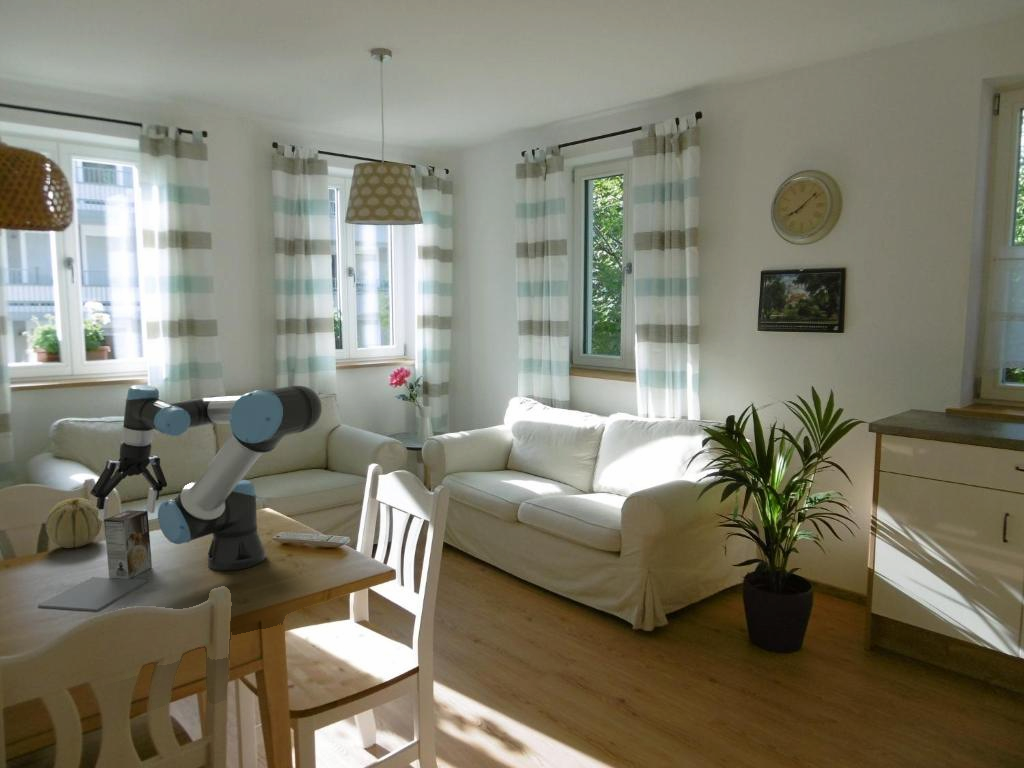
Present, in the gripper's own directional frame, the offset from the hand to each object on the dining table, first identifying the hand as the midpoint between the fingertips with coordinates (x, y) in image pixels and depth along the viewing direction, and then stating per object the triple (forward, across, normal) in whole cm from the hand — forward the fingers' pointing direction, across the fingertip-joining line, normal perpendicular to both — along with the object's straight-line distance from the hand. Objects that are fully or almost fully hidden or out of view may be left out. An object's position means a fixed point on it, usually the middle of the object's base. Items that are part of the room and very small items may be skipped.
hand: (126, 515), depth 201 cm
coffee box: (+13, +2, +9) cm, 16 cm away
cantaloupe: (+20, -2, -26) cm, 32 cm away
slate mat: (+12, +15, +15) cm, 25 cm away
